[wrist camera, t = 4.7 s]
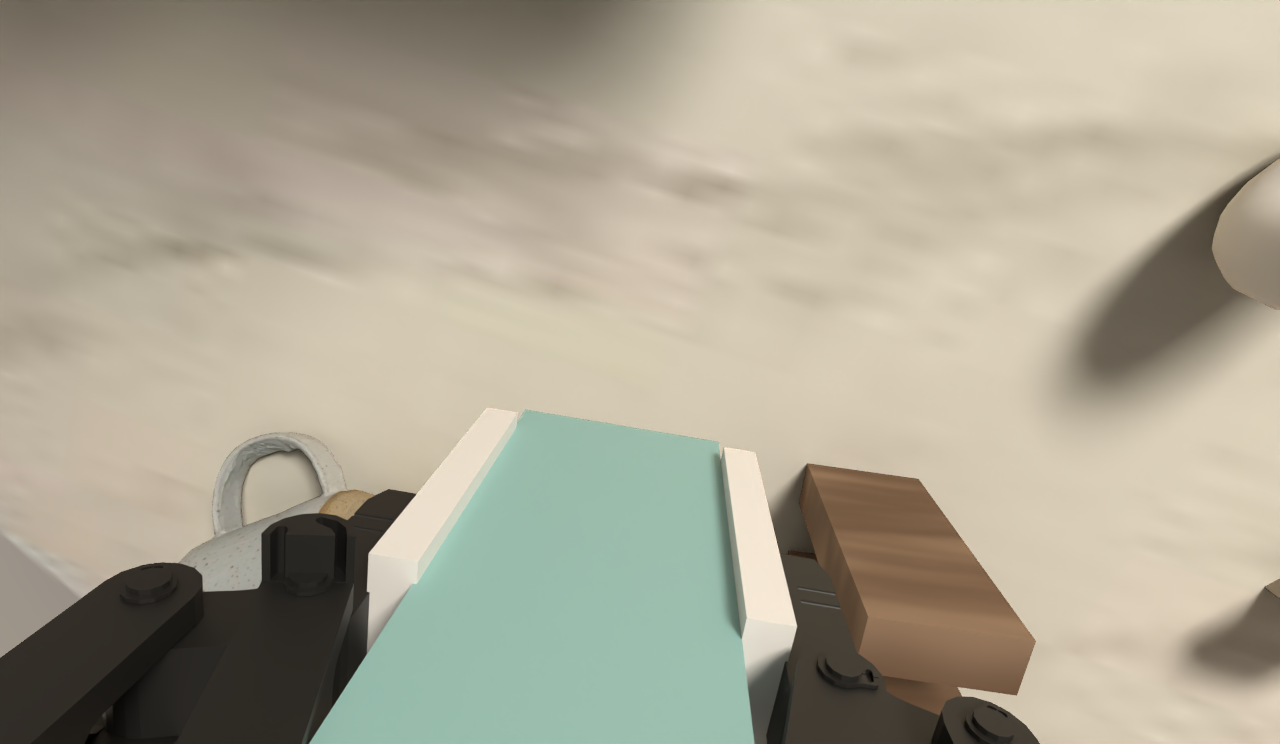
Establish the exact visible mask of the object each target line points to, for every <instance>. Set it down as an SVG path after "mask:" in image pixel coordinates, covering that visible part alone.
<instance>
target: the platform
mask: <svg viewBox="0 0 1280 744" xmlns="http://www.w3.org/2000/svg"><path fill="white" fill-rule="evenodd" d="M1265 588H1266V589H1267V590H1268V591H1269V592H1271V593H1272V594H1273V595H1275V596H1276V597H1277V598H1279V599H1280V579H1278V580H1276V581H1275V582H1273V583H1271V584H1269V585H1267V586H1265Z"/></svg>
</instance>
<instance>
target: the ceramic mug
mask: <svg viewBox="0 0 1280 744" xmlns="http://www.w3.org/2000/svg"><path fill="white" fill-rule="evenodd" d="M295 449H300V450H301V451H302V452H303V453H304V454H305V455H306V456H307V458H309V459H310V461H311V463H312V465H313V467H314V469H315V471H316V473H317V475H318V478H319V482H320V484H321V487H322V493H323V494H322V495H321V496H319V497H316V498H314V499H311V500H309V501H306V502H304V503H302V504H299V505H297V506H294V507H292V508H290V509H288V510H286V511H284V512H282V513H279V514H276V515H274V516H271V517H268V518H265V519H262V520H259V521H257V522H254V523H251V524H248V525H246V526H244V527H243V523H242V510H241V492H242V486H243V482H244V479H245V476H246V473H247V472H248V470H249V467H250V466H251V464H252V463H253V462H255V461H256V460H257V459H258V458H259V457H262V456H265V455H268V454H270V453H273V452H276V451H280V450H284V451H287V452H290V451H293V450H295ZM373 496H374V495H373V494H370V493H366V492H363V491H359V490H347V489H346V485H345V481H344V477H343V473H342V470H341V467H340V465H339V464H338V463H337V461H336V460H335V458H334V456H333V454H332V453H331V452H330V451H329V449H328V448H327V447H326V446H325V445H324V444H323V443H321V442H320V441H319V440H317V439H315V438H313V437H311V436H308V435H305V434H298V433H270V434H265V435H260V436H258V437H255V438H252V439H249V440H247V441H246V442H244V443H243V444H241V445H240V446H238V447H237V448H235V449H234V450H233V451H232V452H231V453H230V455H229V456H228V457H227V458H226V460H225V462H224V463H223V465H222V467H221V469H220V472H219V474H218V477H217V480H216V484H215V488H214V493H213V504H212V517H213V525H214V533H215V536H214V538H213V539H212V540H209V541H207V542H205V543H203V544H201V545H200V546H198V547H196V548H194V549H192V550H191V551H190V552H189V553H188V554H187V555H186V556H185V557H184V558H183V559H182V560H181V561H180V562H179V563H181V564H184V565H187V566H190V567H193V568H195V569H196V570H197V571H198V572H199V573H200V574H201V575H202V579H203V592H208V591H235V590H248V589H257V588H258V587H259V585H260V583H261V581H262V564H261V533H262V532H263V531H264V530H265V529H267V528H268V527H269V526H270V525H271V524H273V523H275V522H277V521H279V520H281V519H284V518H287V517H291V516H295V515H299V514H311V513H323V514H330V515H336V516H339V517H341V518H344V519H346V520H348V519H349V518H350V517H351V516H354V513H355V512H356V511H357V510H358V509H359V508H360V507H361V506H362V505H363V503H364V502H365V501H366V500H367V499H369V498H371V497H373Z"/></svg>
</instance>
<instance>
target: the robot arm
mask: <svg viewBox="0 0 1280 744" xmlns="http://www.w3.org/2000/svg"><path fill="white" fill-rule="evenodd" d="M517 418H518V412H512V411H506V410H500V409H494V408H488V407H487V408H486V409H485V411H484V412H483V413H482V414H481V415H480V417H479V418H478V419H477V420H476V422H475V423H474V424H473V425H472V427H471V428H470V429H469V430H468V432H467V433H466V434H465V435H464V436H463V438H462V439H461V440H460V441H459V443H458V444H457V445H456V446H455V448H454V449H453V450H452V451H451V452H450V454H449V455H448V456H447V457H446V459H445V460H444V461H443V462H442V464H441V465H440V466H439V467H438V468H437V470H436V471H435V472H434V473H433V475H432V476H431V477H430V478H429V480H428V481H427V482H426V483H425V484H424V486H423V487H422V488H421V489H420V491H419V492H418V493H417V494H414V493H408V492H402V491H396V490H390V489H388V490H386V491H384V492H382V493H380V494H378V495H375V496H373V497H371V498H369V499H367V500H366V501H365V502H364V503H363V505H362V506H361V507H360V508H359V509H358V510H357V511H356V512H355V513H354V516H351V517H350V518H349V519H348V520H346V519H344V518H341V517H339V516H336V515H330V514H323V513H311V514H299V515H295V516H291V517H287V518H284V519H281V520H279V521H277V522H275V523H273V524H271V525H270V526H269V527H268V528H267V529H265V530H264V531H263V532H262V533H261V564H262V581H261V583H260V585H259V587H258V588H257V589H248V590H235V591H208V592H203V579H202V575H201V574H200V573H199V572H198V571H197V570H196V569H195V568H193V567H190V566H187V565H184V564H181V563H154V564H146V565H142V566H139V567H135V568H132V569H129V570H126V571H123V572H121V573H119V574H117V575H115V576H113V577H112V578H110V579H108V580H106V581H104V582H103V583H102V584H100V585H99V586H98V587H96V588H95V589H94V590H92V591H91V592H89V593H88V594H87V595H85V596H84V597H83V598H81V599H80V600H79V601H77V602H76V603H75V604H73V605H72V606H71V607H69V608H68V609H66V610H65V611H64V612H62V613H61V614H60V615H58V616H57V617H55V618H54V619H53V620H52V621H50V622H49V623H47V624H46V625H45V626H43V627H42V628H40V629H39V630H38V631H36V632H35V633H34V634H32V635H31V636H30V637H28V638H27V639H26V640H24V641H23V642H21V643H20V644H19V645H17V646H16V647H15V648H13V649H12V650H10V651H9V652H8V653H6V654H5V655H4V656H2V657H1V658H0V744H309V743H310V742H311V740H312V738H313V737H314V735H315V734H316V732H317V731H318V729H319V728H320V726H321V725H322V723H323V721H324V720H325V718H326V717H327V715H328V714H329V712H330V711H331V709H332V708H333V706H334V704H335V703H336V701H337V700H338V698H339V697H340V695H341V694H342V692H343V691H344V689H345V688H346V686H347V684H348V683H349V681H350V680H351V678H352V677H353V675H354V674H355V672H356V671H357V669H358V667H359V666H360V664H361V663H362V661H363V660H364V658H365V657H366V655H367V654H368V652H369V650H370V649H371V647H372V646H373V644H374V643H375V641H376V640H377V638H378V637H379V635H380V633H381V632H382V630H383V629H384V627H385V626H386V624H387V623H388V621H389V620H390V618H391V617H392V615H393V613H394V612H395V610H396V609H397V607H398V606H399V604H400V603H401V601H402V600H403V598H404V596H405V595H406V593H407V592H408V590H409V589H410V587H411V586H412V584H417V583H418V581H419V580H420V578H421V576H422V575H423V573H424V572H425V570H426V569H427V567H428V565H429V564H430V562H431V561H432V559H433V558H434V556H435V554H436V553H437V551H438V550H439V548H440V547H441V545H442V543H443V542H444V540H445V539H446V537H447V536H448V534H449V533H450V531H451V529H452V528H453V526H454V525H455V523H456V522H457V520H458V518H459V517H460V515H461V514H462V512H463V511H464V509H465V507H466V506H467V504H468V503H469V501H470V500H471V498H472V496H473V495H474V493H475V492H476V490H477V489H478V487H479V486H480V484H481V482H482V481H483V479H484V478H485V476H486V475H487V473H488V471H489V470H490V468H491V467H492V465H493V464H494V462H495V460H496V459H497V457H498V456H499V454H500V453H501V451H502V449H503V448H504V446H505V445H506V443H507V442H508V440H509V439H510V437H511V435H512V434H513V432H514V431H515V429H516V428H517ZM721 468H722V476H723V485H724V493H725V501H726V510H727V518H728V527H729V535H730V544H731V553H732V561H733V570H734V578H735V587H736V595H737V604H738V612H739V621H740V629H741V638H742V643H743V652H744V660H745V668H746V677H747V685H748V693H749V702H750V710H751V718H752V727H753V735H754V744H1040V743H1039V742H1038V740H1037V739H1036V737H1035V736H1034V735H1033V734H1032V732H1031V731H1030V730H1029V729H1028V728H1027V726H1026V725H1025V724H1024V723H1022V722H1021V721H1020V720H1018V719H1017V718H1016V717H1015V716H1013V715H1012V714H1011V713H1010V712H1008V711H1006V710H1004V709H1003V708H1001V707H998V706H997V705H995V704H993V703H991V702H988V701H984V700H981V699H978V698H974V697H958V696H957V697H955V698H952V699H950V700H947V701H946V703H945V705H944V707H943V708H942V711H941V714H940V715H937V714H935V713H932V712H930V711H927V710H925V709H922V708H920V707H917V706H915V705H912V704H910V703H908V702H905V701H903V700H901V699H899V698H897V697H895V696H893V695H892V694H890V693H889V692H887V691H886V685H885V682H884V679H883V676H882V675H881V673H880V672H879V671H878V670H877V668H876V667H875V666H874V665H873V664H872V663H871V662H869V661H868V660H867V659H865V658H864V657H863V656H861V655H860V654H858V653H857V652H856V649H855V646H854V643H853V640H852V638H851V635H850V632H849V629H848V626H847V623H846V620H845V618H844V615H843V612H842V610H840V607H841V606H840V603H839V600H838V598H837V596H836V592H835V589H834V586H833V583H832V580H831V578H830V575H829V574H828V573H827V572H826V571H825V570H824V569H823V568H822V567H821V566H820V565H819V564H818V563H817V562H816V561H815V559H809V558H803V557H797V556H791V555H785V554H780V553H779V549H778V545H777V541H776V536H775V532H774V528H773V524H772V520H771V516H770V511H769V507H768V503H767V499H766V495H765V491H764V486H763V482H762V478H761V474H760V470H759V466H758V462H757V457H756V453H755V452H751V451H745V450H739V449H733V448H727V447H724V449H723V454H722V458H721Z"/></svg>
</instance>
